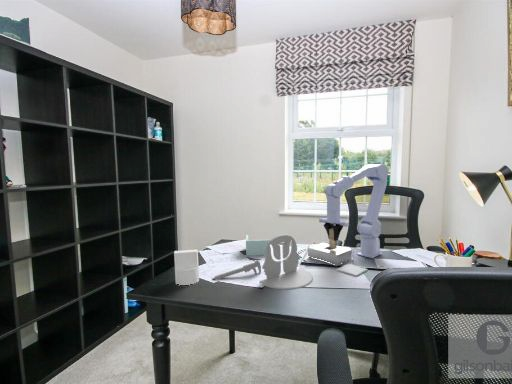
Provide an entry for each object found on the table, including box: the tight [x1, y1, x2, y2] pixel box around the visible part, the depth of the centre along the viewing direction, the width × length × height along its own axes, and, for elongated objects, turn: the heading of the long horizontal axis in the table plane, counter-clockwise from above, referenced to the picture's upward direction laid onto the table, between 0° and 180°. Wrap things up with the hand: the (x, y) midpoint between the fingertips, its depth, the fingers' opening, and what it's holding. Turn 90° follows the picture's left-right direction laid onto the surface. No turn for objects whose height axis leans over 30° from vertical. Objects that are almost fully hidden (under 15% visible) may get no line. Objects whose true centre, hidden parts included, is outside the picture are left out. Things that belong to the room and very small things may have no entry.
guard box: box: [307, 242, 353, 267], centre depth 131 cm, size 12×16×5 cm
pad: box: [336, 263, 368, 277], centre depth 116 cm, size 9×9×1 cm
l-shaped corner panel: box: [245, 234, 271, 256], centre depth 144 cm, size 12×12×8 cm
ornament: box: [259, 234, 314, 291], centre depth 106 cm, size 22×13×17 cm, turn 123°
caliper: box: [211, 258, 262, 280], centre depth 112 cm, size 20×1×6 cm, turn 107°
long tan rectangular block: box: [328, 228, 338, 249], centre depth 127 cm, size 2×2×9 cm
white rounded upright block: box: [173, 249, 200, 286], centre depth 109 cm, size 9×9×12 cm
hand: (333, 239), depth 127 cm, fingers closed on long tan rectangular block, 2 cm apart
